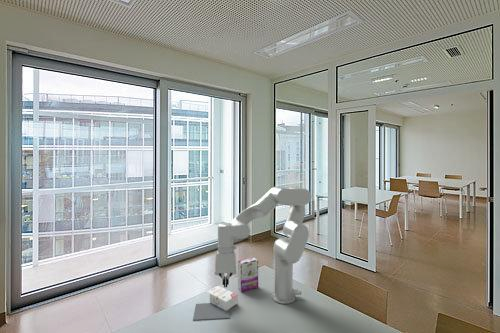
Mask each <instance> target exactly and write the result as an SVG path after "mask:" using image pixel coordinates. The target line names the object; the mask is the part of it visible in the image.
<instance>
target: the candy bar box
mask: <svg viewBox="0 0 500 333" xmlns="http://www.w3.org/2000/svg"><path fill="white" fill-rule="evenodd" d="M258 288H259V260H258V259H257V258H256V257H254V256H253V257H249V258H244V259H241V260H237V289H238V290H239V291H240V292H241V293H244V292H247V291H251V290H255V289H258Z"/></svg>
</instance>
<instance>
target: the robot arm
mask: <svg viewBox="0 0 500 333" xmlns="http://www.w3.org/2000/svg"><path fill="white" fill-rule="evenodd" d="M311 200H312V194H311V192H310V190H309V189H306V188H303V187H298V186H290V187H288V188H287V187H281V186H273V187H271V188H270V189H269V190H268V191H267V192H265V193H264V194H263V196H262V197H261V198H260V199H258V201H257V202H255V203H253V204H252V205H250V206H249V207H246V208H245V209H243V210H242V211H241V212H240V213H238V214H237V215H236V216H235V217H234V218H233V219H232V220H231V222H222V223H219V224H218V226H217V250H216V253H215V257H214V258H215V260H214V261H215V262H214V263H215V264H214V275H215V276H219V277H220V278H221V280H222V286H223V288H224V289H226V288H228V286H229V283H230V281H229V279H230V278H232V276H234V275H236V274H238V271H237V258H236V251H235V250H237V246H236V245H234V239H236V240H245V239H247V238H249V236H250V234H251V228H250V226H249V223H251V222H252V221H255V220H256V219H260V218H261V219H262V218H265V217H267V216H268V215H269V214H270V213H271V212H272V211H273V210H274V209H275V208H276V207H277V206H278V205H282V206H289V212H288V214H287V217H286V219H285V222H284V223H283V224H284V225H283V228H282V233H283V234H284V236H285V237H287V238H288V239H287V238H284V237H280V238H277V239H276V240H275V241H274V243H273V248H272V249H273V256H274V257H273V258H274V291H273V292H272V293H271V299H272V300H273V301H274V302H275V303H278V304H282V305H288V304H291V303H294V302H295V301H296V296H297V295H300V296H301V295H302V294H303V293H302V291H301V290H299V289H298V288H295V289H294V288H293V287H294V286H293V284H294V283H293V282H294V281H293V277H294V276H293V273H294V266H293V265H294V264H296V263H298V262H299V261H300V260H301V258H302V257H303V253H304V251H305V249H306V246H307V243H308V240H309V236H310V233H309V231H310V230H309V228H308V227H307V226H306V225H305V224H303V222H304V219H305V216H306V205H309V203H310V202H311ZM225 274H226V275H225Z"/></svg>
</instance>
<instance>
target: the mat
mask: <svg viewBox="0 0 500 333" xmlns="http://www.w3.org/2000/svg"><path fill="white" fill-rule="evenodd" d="M194 307H195V308H194V312H193V318H192V321H194V322H195V321H206V320H207V321H208V320H211V321H212V320H224V319H230V318H231V312H230V311H231V308H230V309H228V310H227V311H226V310H224V309H222V308H220V307H218V306H216V305H214V304H212V303H210V302H208V303H207V302H206V303H204V302H203V303H195V306H194Z"/></svg>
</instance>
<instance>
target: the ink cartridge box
mask: <svg viewBox="0 0 500 333" xmlns="http://www.w3.org/2000/svg"><path fill="white" fill-rule="evenodd" d="M206 293H208V294H209V303H212V304H214V305H216V306H218V307H220V308H222V309H224V310H226V311H227V310H228V309H230V310H231V308H233V307H234V306H235V305H237V304H238V294H237V293H234V292H232V291H230V290H228V289H226V288H224V287H222V286H219V285H216V286H214V287H213V288H210V289H208V290H207V291H206Z"/></svg>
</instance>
